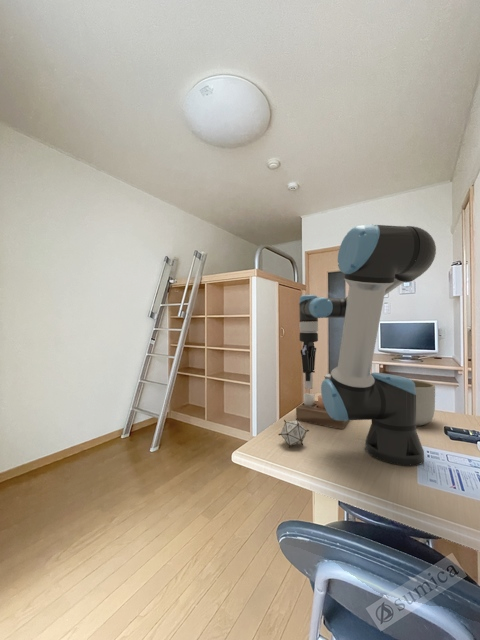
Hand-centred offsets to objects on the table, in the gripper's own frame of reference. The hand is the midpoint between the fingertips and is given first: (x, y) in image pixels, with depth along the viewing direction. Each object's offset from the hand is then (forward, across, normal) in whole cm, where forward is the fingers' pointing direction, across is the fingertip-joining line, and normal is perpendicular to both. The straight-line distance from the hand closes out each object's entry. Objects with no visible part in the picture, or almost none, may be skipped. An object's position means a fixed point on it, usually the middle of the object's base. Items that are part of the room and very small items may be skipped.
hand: (308, 388), depth 114 cm
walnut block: (+12, 0, +6) cm, 13 cm away
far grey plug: (+8, 0, 0) cm, 8 cm away
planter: (+12, -16, +35) cm, 40 cm away
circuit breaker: (+12, -20, +6) cm, 24 cm away
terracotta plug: (+8, 0, +6) cm, 10 cm away
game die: (+12, +29, +5) cm, 32 cm away
